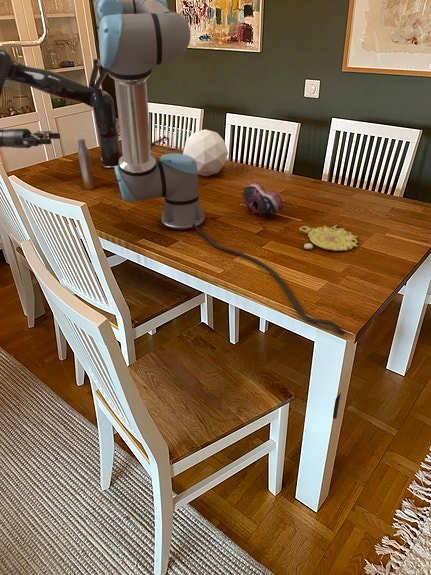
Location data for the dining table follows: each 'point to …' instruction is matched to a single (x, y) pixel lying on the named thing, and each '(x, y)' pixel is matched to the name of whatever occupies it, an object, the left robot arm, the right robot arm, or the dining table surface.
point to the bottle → (85, 165)
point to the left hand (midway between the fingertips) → (55, 138)
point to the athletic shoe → (261, 200)
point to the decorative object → (330, 238)
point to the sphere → (206, 151)
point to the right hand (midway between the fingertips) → (119, 108)
